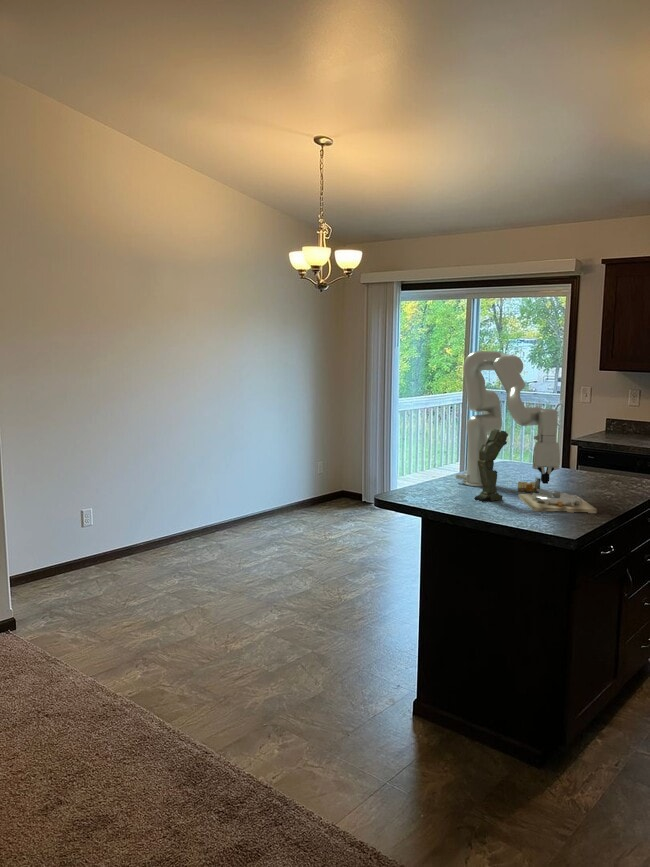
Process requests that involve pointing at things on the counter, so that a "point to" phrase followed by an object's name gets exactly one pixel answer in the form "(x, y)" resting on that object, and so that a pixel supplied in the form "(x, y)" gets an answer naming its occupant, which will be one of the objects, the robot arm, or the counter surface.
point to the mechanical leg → (490, 465)
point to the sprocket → (554, 496)
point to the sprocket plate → (544, 507)
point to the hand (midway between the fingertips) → (544, 483)
